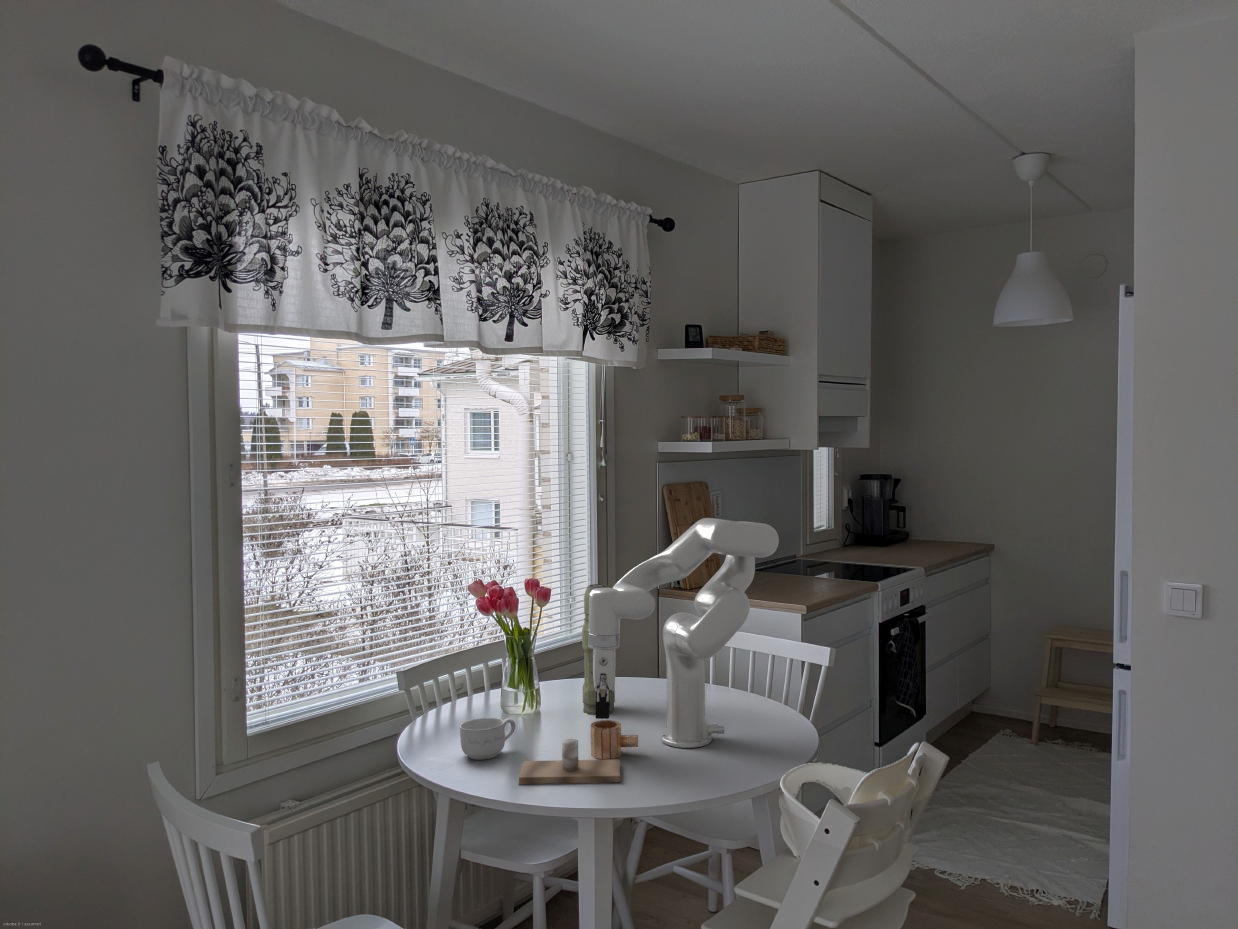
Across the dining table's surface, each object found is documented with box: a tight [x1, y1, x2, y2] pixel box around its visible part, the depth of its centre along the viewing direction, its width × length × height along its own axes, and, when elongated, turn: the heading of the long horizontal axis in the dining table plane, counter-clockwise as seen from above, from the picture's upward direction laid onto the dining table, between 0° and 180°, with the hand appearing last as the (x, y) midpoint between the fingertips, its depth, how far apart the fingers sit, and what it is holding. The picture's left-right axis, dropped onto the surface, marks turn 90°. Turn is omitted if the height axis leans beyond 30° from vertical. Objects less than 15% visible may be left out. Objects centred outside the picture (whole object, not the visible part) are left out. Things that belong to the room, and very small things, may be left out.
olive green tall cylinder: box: [581, 583, 616, 716], centre depth 240 cm, size 9×12×35 cm
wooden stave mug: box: [590, 719, 639, 760], centre depth 206 cm, size 7×11×7 cm, turn 91°
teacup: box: [459, 716, 516, 761], centre depth 206 cm, size 14×11×8 cm
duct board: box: [518, 738, 621, 785], centre depth 192 cm, size 22×10×8 cm, turn 91°
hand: (602, 712), depth 205 cm, fingers open, 9 cm apart
